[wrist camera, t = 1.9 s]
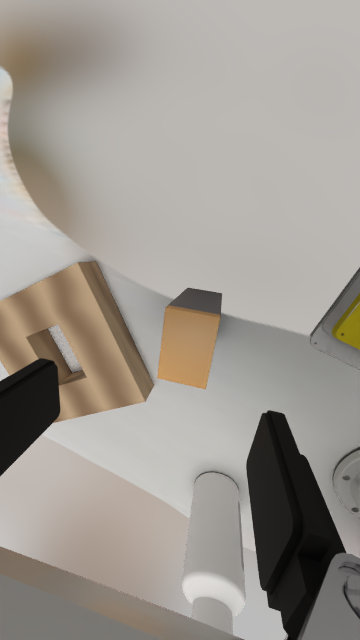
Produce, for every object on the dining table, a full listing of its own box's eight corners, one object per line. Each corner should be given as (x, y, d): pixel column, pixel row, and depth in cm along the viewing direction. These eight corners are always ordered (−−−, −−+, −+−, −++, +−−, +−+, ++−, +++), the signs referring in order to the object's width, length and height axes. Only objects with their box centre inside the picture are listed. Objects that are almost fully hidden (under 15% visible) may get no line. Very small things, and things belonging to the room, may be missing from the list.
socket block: (96, 261, 26) (77, 262, 23) (153, 385, 30) (145, 401, 26) (-2, 308, 31) (-28, 315, 28) (58, 409, 35) (40, 425, 31)
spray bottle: (198, 501, 35) (173, 736, 18) (191, 469, 33) (156, 696, 16) (241, 505, 33) (258, 768, 16) (236, 472, 31) (250, 727, 14)
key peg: (221, 293, 24) (220, 317, 15) (212, 341, 26) (205, 389, 17) (187, 287, 25) (165, 307, 15) (180, 334, 27) (157, 378, 17)
